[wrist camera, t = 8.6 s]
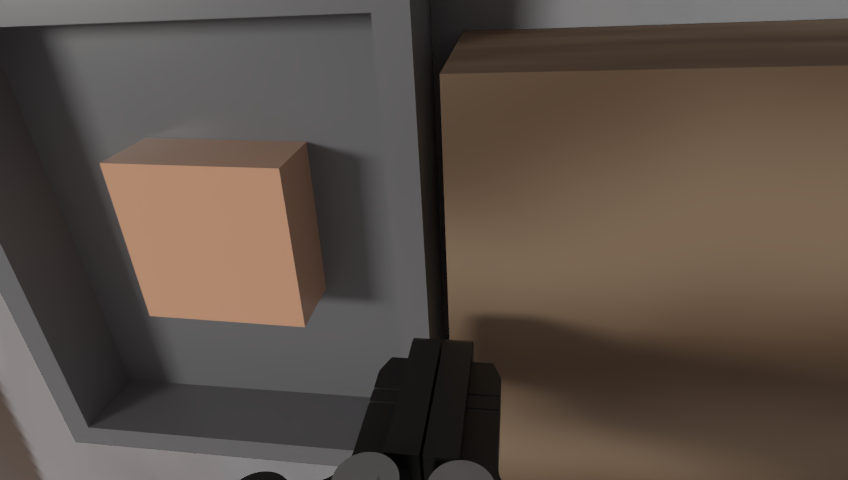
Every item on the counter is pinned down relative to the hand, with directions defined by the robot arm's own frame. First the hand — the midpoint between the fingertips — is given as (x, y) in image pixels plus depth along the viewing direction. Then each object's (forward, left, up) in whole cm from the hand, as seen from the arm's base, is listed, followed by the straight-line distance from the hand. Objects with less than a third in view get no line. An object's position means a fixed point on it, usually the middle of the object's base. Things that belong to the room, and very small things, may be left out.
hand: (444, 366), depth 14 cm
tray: (0, -9, -7) cm, 12 cm away
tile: (-1, -9, -4) cm, 10 cm away
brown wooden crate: (0, +8, -7) cm, 11 cm away
